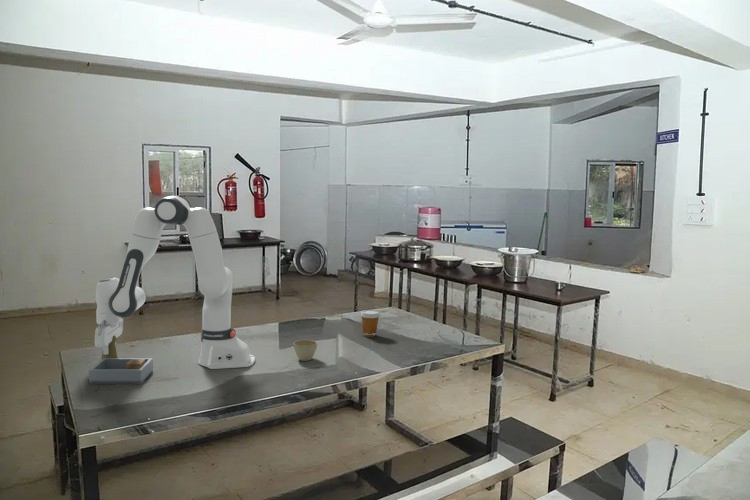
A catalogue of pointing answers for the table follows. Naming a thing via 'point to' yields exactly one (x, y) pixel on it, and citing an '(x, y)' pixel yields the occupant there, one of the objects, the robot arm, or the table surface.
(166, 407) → the table surface
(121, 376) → the tote
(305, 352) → the flower pot
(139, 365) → the tan cube
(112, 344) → the cork
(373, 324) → the disposable coffee cup
